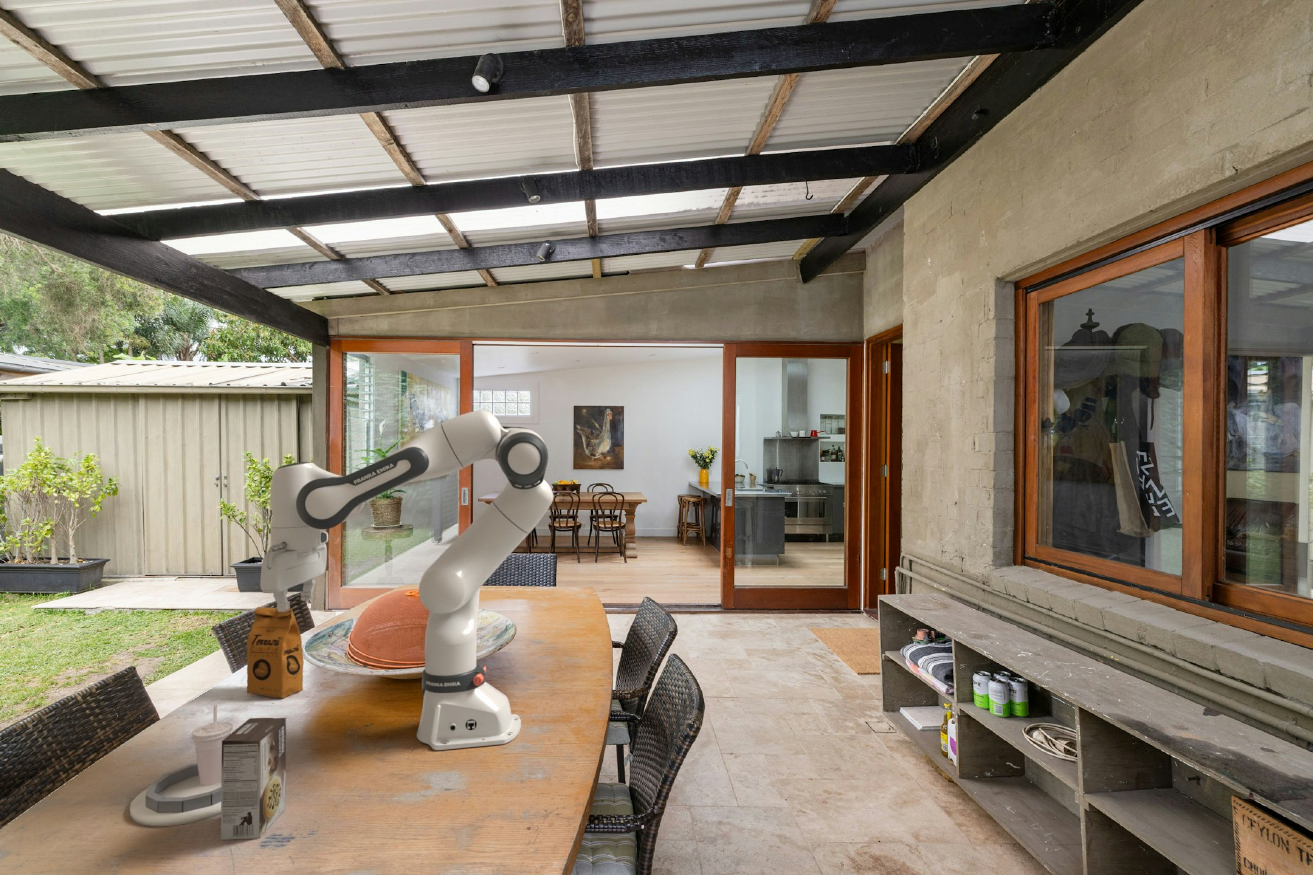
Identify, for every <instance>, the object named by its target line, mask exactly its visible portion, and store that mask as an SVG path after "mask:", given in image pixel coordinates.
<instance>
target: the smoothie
mask: <svg viewBox="0 0 1313 875" xmlns="http://www.w3.org/2000/svg"><path fill="white" fill-rule="evenodd" d="M212 718H213V719H212V720H213V721H212V722H211V723H208V724H204V725H201V726H198V727H197V728H195V729H194V730H193V731H192V733H191V735H192V736H191V739H192V740H193V741H194V749H195V756H196V763H197V764H198V771H199V779H200V784H201V785H204V786H206V785H213V784H216V783H218V782H220V781H222V740H224V739H225V738H226V737H227V736H229V735H230V734H231V733H232V732H233V731H234V729H233V723H231V722H228V721H218V704H214V705H213V717H212Z"/></svg>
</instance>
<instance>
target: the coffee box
mask: <svg viewBox="0 0 1313 875" xmlns="http://www.w3.org/2000/svg"><path fill="white" fill-rule="evenodd" d="M286 719H287V717H278V718H277V717H276V718H274V717H252V718H248V719H247V720H245V722H244V723H242V724H241V725H240V726H239V727H237V728H236V729H235V730H233V731H232V732H231V733H230V735H229V736H227V737H226V738H225V739H224V740H222V781H221V814H220V840H221V841H224V840H226V841H229V840H230V841H231V840H248V839H249V840H250V839H252V840H253V839H255V840H256V839H260V838H261V837H262V836H263V835H264V834H265V833H266V831H267V830H268V829H269V828H270V827H271V825H273V824H274V822H275V821H276V820H277V819H278V818H279V816H280V815H281V814H282V813H283V812H284V811H285V809H286V807H287V804H286V803H287V799H286V798H287V796H286V793H287V791H286V790H287V786H286V785H287V784H286V782H287V776H286V775H287V774H286V772H287V770H286V769H287V751H286V750H287V747H286V746H287V742H286V741H287V720H286Z"/></svg>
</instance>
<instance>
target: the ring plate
mask: <svg viewBox="0 0 1313 875" xmlns="http://www.w3.org/2000/svg"><path fill="white" fill-rule="evenodd" d="M218 815H221V781H220V782H218V783H216V784H213V785H206V786H204V785H201V784H200V779H199V771H198V764H197V762H195V763H190V764H187V765H184V766H182V767H179V768H176V769H174V770H171V771H169V772H166V773H165V774H163V775H161V776H159V778H157V779H155V780H154V781H152V782H151V783H149V784H148V786H147V788H145V789H144V790H143V791H141V792H140V793H139V794H138V795H136V796H135V797H134V799H133V800H132V801H131V803H130V806H129V817H130V819H131V820H132V821H133V822H134V823H136V824H137V825H143V826H146V827H161V828H162V827H173V826H180V825H186V824H187V825H188V824H192V823H196V822H200V821H203V820H208V819H210V818H213V817H217V816H218Z"/></svg>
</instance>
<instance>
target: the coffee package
mask: <svg viewBox="0 0 1313 875" xmlns="http://www.w3.org/2000/svg"><path fill="white" fill-rule="evenodd" d="M254 614H255V615H256V616H255V619H254V622H253V623H252V626H251V629H250V632H249V634H248V637H247V639H246V650H247V653H246V663H247V665H246V666H247V667H246V675H247V678H246V679H247V680H246V683H247V686H246V693H247V694H251V695H259V696H263V697H265V696H266V697H270V698H279V699H286V698H287V697H290V695H291V696H292V695H294V694H297V693H300V692H301V691H303V690H304V689H303V684H304V683H303V682H304V680H303V679H304V678H303V677H304V674H303V673H304V663H305V662H304V653H303V642H302V635H301V633H300V628H299V626H298V622H297V619H296V617H295V614H294V611H293V609H292V608H290V609H289V610H287V611H285V612H279V611H278V610H277V607H267V606H266V607H263V606H262V607H260V606H258V607H257V608H256V609H255V611H254Z"/></svg>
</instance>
